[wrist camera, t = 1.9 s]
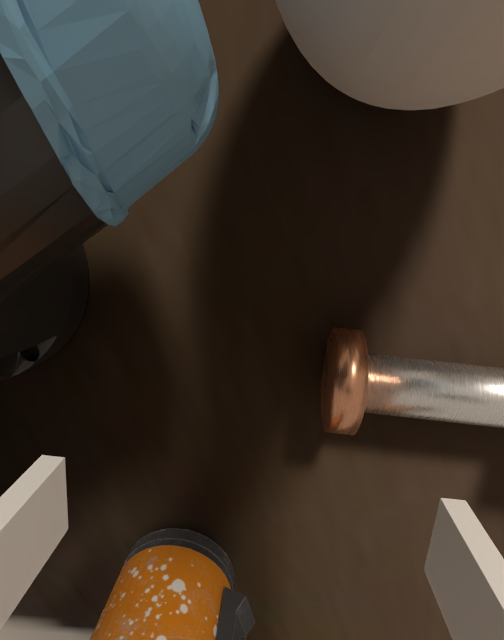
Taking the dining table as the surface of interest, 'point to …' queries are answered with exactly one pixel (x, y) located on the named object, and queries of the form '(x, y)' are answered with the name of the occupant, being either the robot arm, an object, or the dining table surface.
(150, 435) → the dining table surface
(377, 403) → the bolt
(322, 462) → the dining table surface
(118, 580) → the canister
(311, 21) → the vase
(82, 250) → the robot arm
